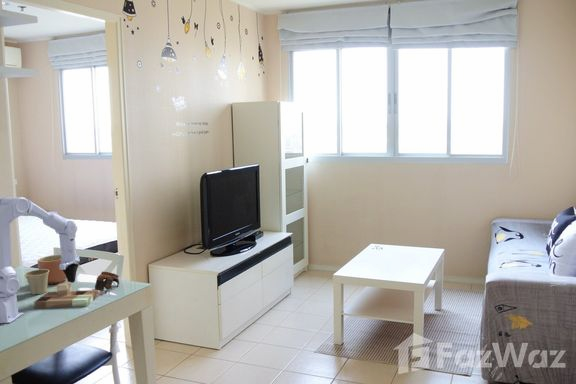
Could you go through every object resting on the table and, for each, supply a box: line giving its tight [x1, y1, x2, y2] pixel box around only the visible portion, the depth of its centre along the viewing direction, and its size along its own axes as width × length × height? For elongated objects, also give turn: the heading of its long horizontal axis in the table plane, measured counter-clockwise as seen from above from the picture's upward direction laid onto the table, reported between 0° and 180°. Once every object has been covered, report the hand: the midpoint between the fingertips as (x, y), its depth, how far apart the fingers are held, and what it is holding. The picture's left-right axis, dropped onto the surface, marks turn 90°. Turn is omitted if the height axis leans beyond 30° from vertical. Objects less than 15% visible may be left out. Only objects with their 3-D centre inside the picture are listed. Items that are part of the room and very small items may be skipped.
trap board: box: [33, 289, 100, 309], centre depth 206 cm, size 12×20×2 cm, turn 89°
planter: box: [37, 254, 67, 285], centre depth 235 cm, size 12×12×11 cm
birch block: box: [55, 281, 73, 295], centre depth 209 cm, size 4×4×4 cm
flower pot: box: [24, 269, 49, 295], centre depth 220 cm, size 9×9×9 cm
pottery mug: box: [94, 271, 120, 292], centre depth 222 cm, size 12×10×8 cm
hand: (71, 282), depth 216 cm, fingers closed
